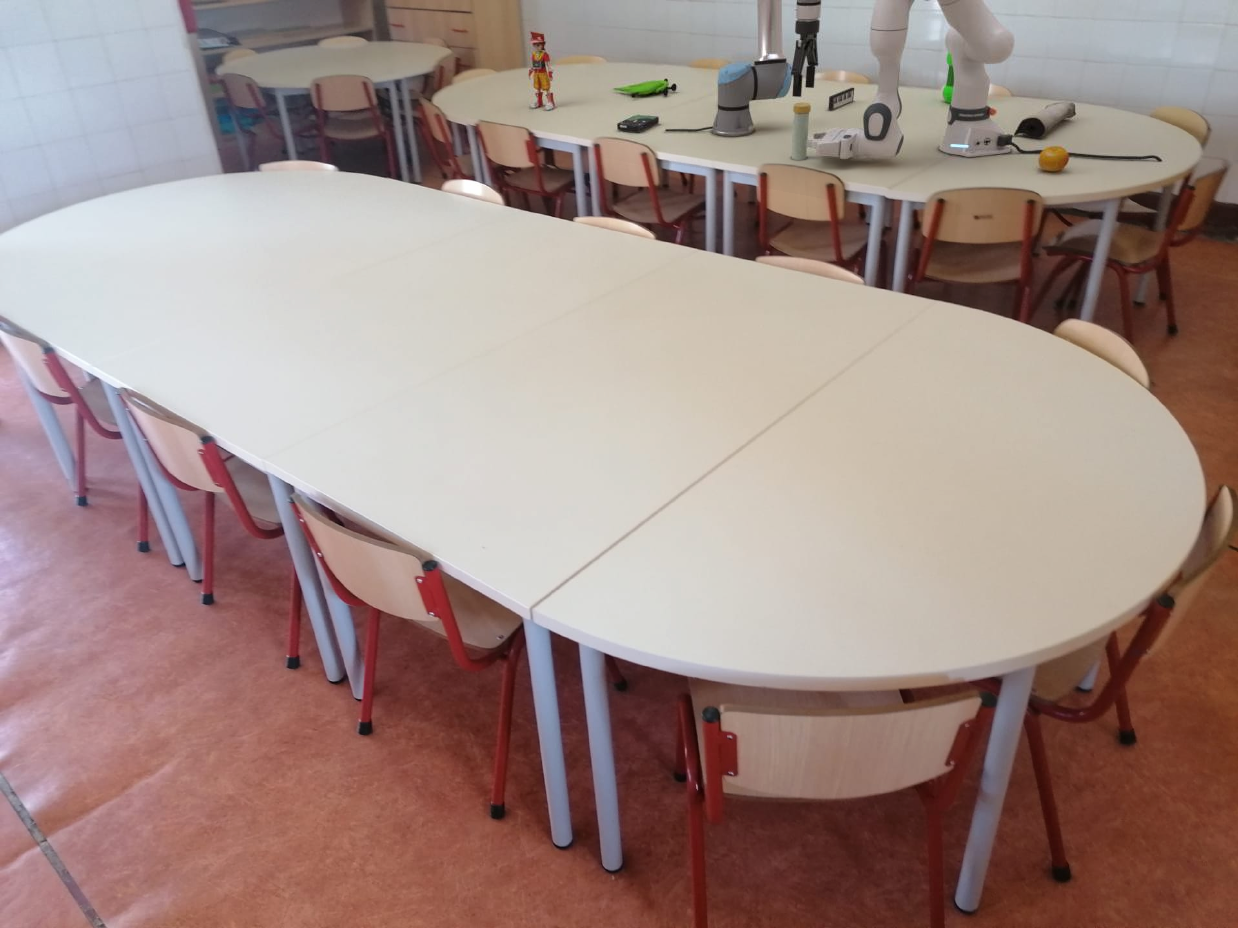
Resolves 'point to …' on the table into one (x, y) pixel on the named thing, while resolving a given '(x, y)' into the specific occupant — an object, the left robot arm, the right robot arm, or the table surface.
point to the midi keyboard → (841, 98)
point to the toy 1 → (541, 71)
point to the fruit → (1053, 158)
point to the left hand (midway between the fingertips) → (803, 92)
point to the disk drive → (638, 123)
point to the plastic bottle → (949, 81)
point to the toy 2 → (648, 88)
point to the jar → (800, 136)
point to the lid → (802, 107)
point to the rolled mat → (1045, 119)
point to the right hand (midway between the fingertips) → (810, 139)
